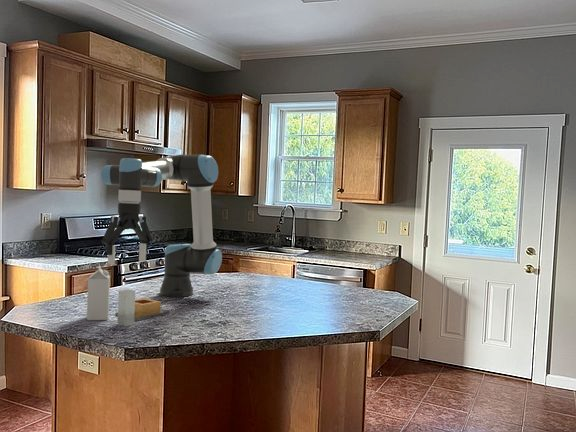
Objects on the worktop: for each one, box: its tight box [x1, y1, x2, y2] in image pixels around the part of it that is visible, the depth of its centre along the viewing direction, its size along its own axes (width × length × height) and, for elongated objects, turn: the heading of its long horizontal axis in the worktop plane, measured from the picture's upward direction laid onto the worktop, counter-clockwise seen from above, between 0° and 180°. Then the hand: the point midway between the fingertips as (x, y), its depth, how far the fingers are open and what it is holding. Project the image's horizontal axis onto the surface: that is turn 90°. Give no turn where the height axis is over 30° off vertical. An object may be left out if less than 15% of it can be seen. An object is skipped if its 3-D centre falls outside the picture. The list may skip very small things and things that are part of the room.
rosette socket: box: [115, 297, 170, 322], centre depth 200 cm, size 16×12×5 cm
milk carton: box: [86, 265, 111, 321], centre depth 191 cm, size 7×7×19 cm
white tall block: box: [117, 288, 136, 327], centre depth 185 cm, size 4×4×12 cm
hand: (127, 263), depth 184 cm, fingers open, 13 cm apart
